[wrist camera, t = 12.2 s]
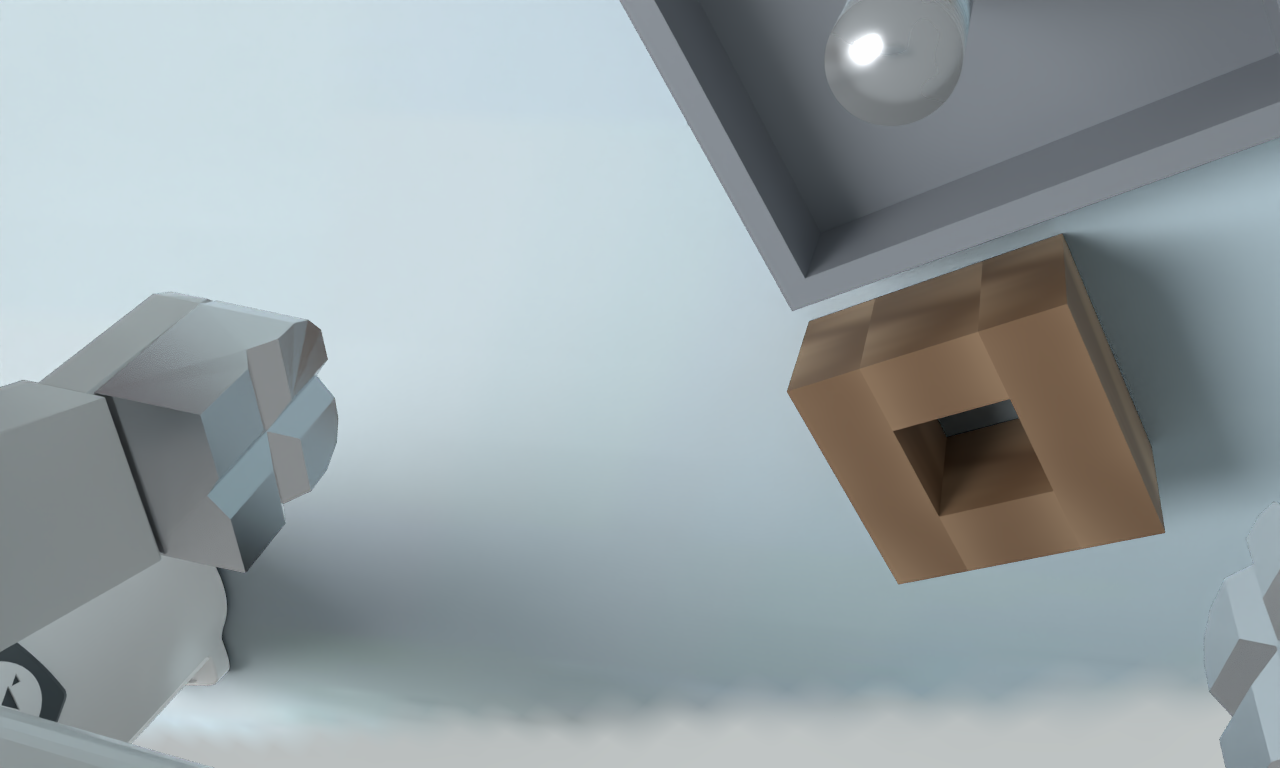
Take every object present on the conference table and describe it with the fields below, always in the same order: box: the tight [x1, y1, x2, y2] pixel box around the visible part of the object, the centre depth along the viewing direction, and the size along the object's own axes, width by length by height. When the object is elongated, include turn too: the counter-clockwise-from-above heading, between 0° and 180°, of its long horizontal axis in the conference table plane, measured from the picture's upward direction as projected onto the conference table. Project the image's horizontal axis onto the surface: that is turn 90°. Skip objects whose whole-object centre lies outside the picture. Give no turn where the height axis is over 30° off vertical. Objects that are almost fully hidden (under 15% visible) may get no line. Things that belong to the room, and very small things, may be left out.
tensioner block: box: [787, 234, 1165, 584], centre depth 31 cm, size 8×8×4 cm
